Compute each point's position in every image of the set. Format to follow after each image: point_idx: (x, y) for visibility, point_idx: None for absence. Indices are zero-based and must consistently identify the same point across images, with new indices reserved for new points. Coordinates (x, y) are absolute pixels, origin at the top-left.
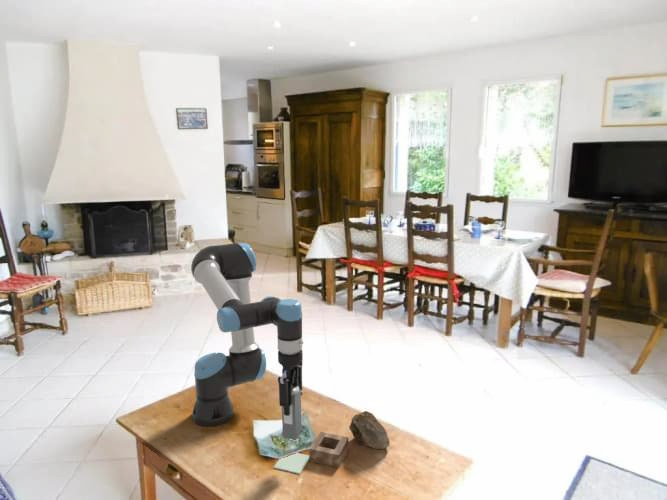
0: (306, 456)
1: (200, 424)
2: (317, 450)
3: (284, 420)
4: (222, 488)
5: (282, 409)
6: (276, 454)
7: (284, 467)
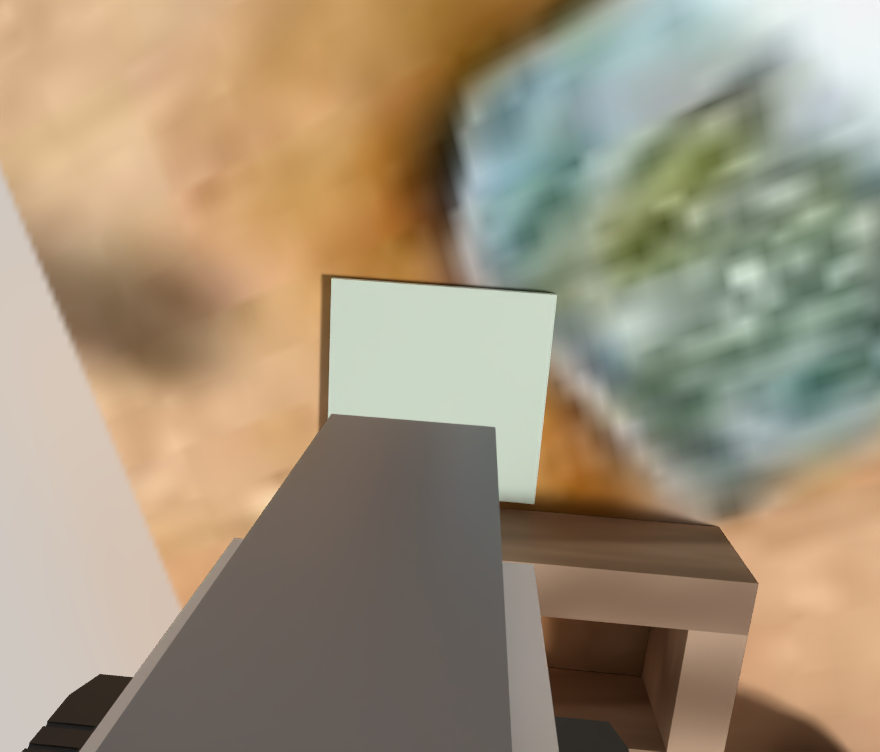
0: (520, 477)
1: None
2: None
3: (220, 570)
4: None
5: (184, 634)
6: (499, 231)
7: (349, 361)
